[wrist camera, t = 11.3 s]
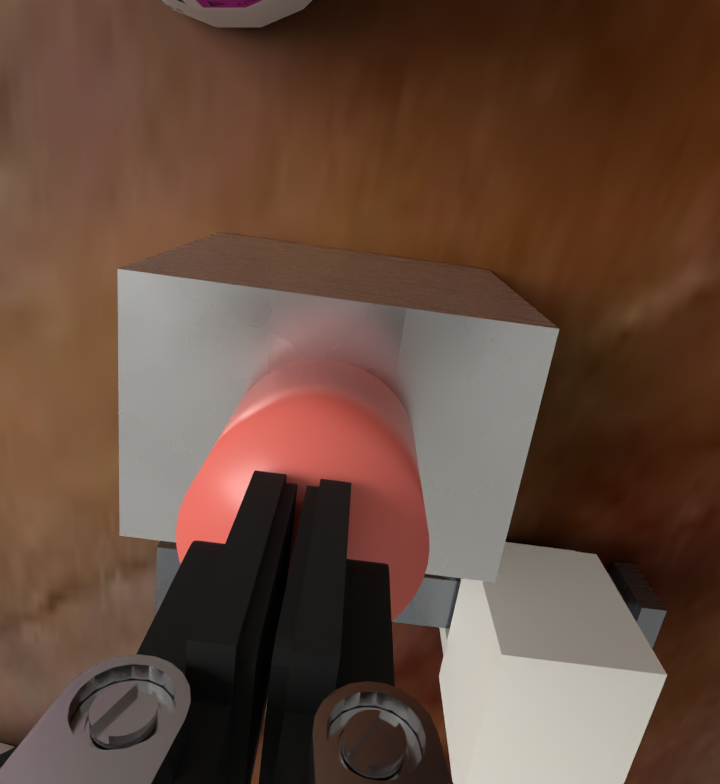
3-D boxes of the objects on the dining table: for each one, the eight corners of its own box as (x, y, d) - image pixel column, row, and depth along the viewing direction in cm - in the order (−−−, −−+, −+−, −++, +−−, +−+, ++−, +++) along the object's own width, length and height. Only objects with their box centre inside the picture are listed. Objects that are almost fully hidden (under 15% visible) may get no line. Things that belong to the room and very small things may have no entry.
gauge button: (417, 330, 17) (451, 451, 10) (394, 465, 19) (407, 662, 11) (265, 309, 17) (179, 415, 10) (254, 447, 19) (172, 633, 11)
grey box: (488, 269, 22) (559, 328, 13) (451, 447, 24) (492, 591, 16) (217, 232, 22) (117, 268, 13) (208, 415, 24) (119, 545, 16)
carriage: (581, 528, 25) (667, 674, 18) (542, 658, 27) (603, 834, 20) (464, 513, 25) (501, 655, 18) (435, 644, 27) (457, 817, 20)
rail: (635, 564, 26) (666, 611, 23) (612, 629, 27) (640, 681, 25) (180, 506, 26) (157, 547, 23) (178, 575, 27) (155, 622, 24)
